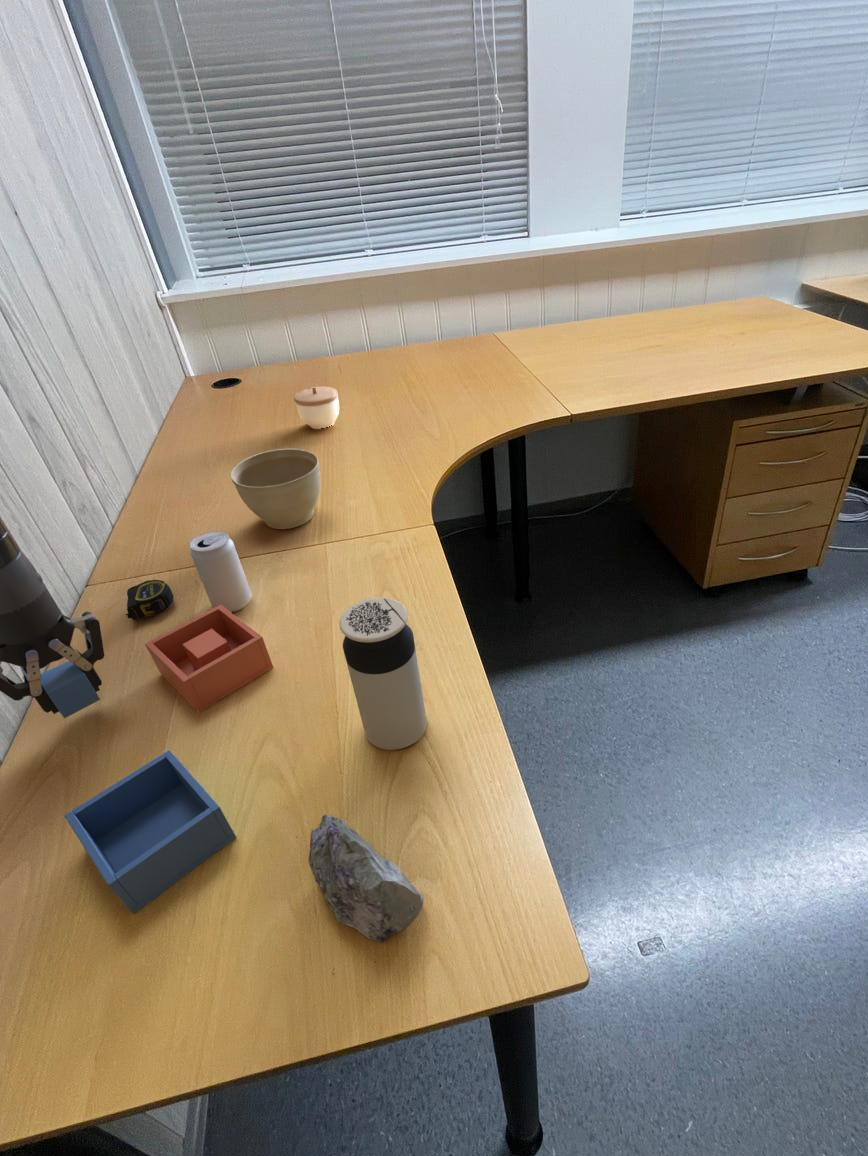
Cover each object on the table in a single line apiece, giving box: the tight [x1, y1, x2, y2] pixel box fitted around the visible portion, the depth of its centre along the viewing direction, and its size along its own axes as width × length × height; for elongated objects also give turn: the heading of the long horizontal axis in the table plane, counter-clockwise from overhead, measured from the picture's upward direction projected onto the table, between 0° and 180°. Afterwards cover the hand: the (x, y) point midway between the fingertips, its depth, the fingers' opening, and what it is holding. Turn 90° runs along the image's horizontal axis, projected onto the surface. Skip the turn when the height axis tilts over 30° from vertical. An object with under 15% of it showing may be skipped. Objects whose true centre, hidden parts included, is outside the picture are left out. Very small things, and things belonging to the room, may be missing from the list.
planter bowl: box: [230, 448, 321, 530], centre depth 119 cm, size 16×16×11 cm
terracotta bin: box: [144, 605, 274, 713], centre depth 88 cm, size 12×12×6 cm
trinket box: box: [293, 386, 340, 430], centre depth 156 cm, size 11×11×9 cm
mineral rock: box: [308, 814, 424, 943], centre depth 60 cm, size 13×11×10 cm
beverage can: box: [189, 531, 253, 613], centre depth 98 cm, size 6×6×12 cm
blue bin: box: [63, 749, 237, 915], centre depth 67 cm, size 12×12×6 cm
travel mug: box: [338, 597, 428, 751], centre depth 74 cm, size 8×8×18 cm
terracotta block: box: [182, 629, 231, 670], centre depth 88 cm, size 4×4×4 cm
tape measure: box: [125, 579, 175, 621], centre depth 101 cm, size 7×7×4 cm
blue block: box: [41, 660, 101, 719], centre depth 80 cm, size 4×4×4 cm
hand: (74, 698), depth 81 cm, fingers closed on blue block, 4 cm apart
